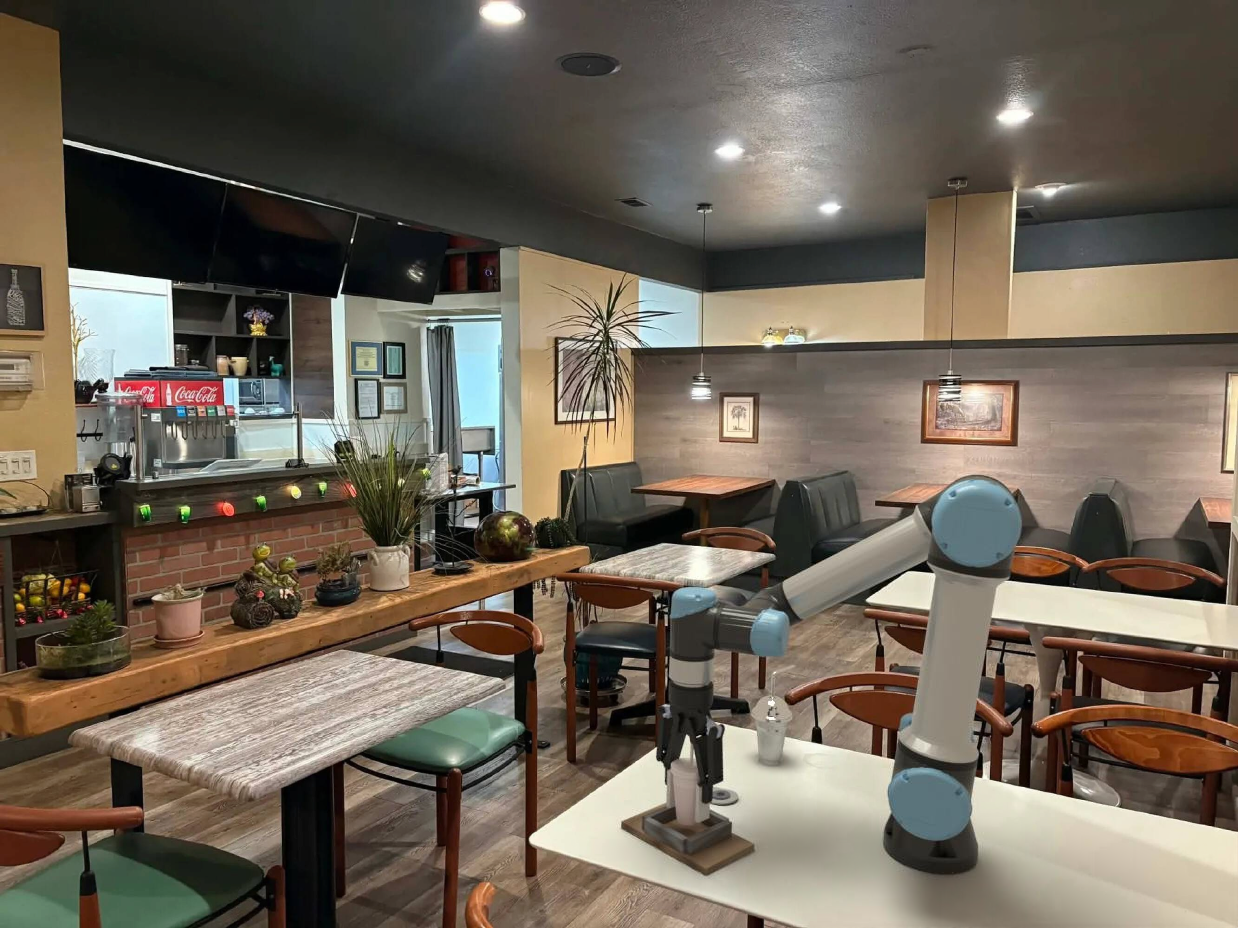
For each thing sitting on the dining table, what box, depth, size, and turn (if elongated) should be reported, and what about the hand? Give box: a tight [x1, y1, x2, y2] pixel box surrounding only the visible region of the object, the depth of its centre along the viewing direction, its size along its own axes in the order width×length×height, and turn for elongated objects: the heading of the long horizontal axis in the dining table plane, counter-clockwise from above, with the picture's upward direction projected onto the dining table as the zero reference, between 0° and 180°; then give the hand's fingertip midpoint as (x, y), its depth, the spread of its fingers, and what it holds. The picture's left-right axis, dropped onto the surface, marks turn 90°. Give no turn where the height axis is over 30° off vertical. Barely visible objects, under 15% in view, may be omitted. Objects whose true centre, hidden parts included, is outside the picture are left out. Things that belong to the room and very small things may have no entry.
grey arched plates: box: [710, 786, 739, 806], centre depth 171 cm, size 7×10×4 cm, turn 57°
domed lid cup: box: [751, 664, 796, 767], centre depth 186 cm, size 8×9×20 cm
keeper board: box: [620, 802, 756, 877], centre depth 154 cm, size 20×12×4 cm, turn 42°
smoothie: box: [670, 743, 700, 825], centre depth 153 cm, size 6×6×14 cm
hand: (687, 811), depth 154 cm, fingers closed on smoothie, 6 cm apart
